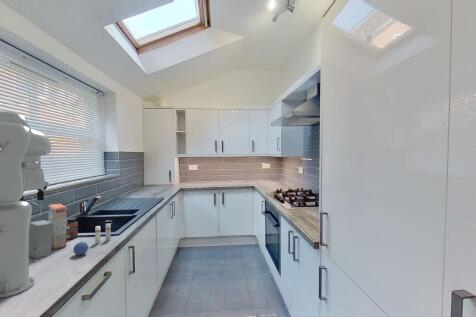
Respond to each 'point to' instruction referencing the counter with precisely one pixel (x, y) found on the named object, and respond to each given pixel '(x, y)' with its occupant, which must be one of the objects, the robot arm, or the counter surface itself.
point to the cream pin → (97, 234)
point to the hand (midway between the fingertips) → (30, 201)
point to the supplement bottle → (71, 229)
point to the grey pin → (108, 232)
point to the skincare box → (40, 238)
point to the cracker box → (58, 225)
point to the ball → (80, 248)
